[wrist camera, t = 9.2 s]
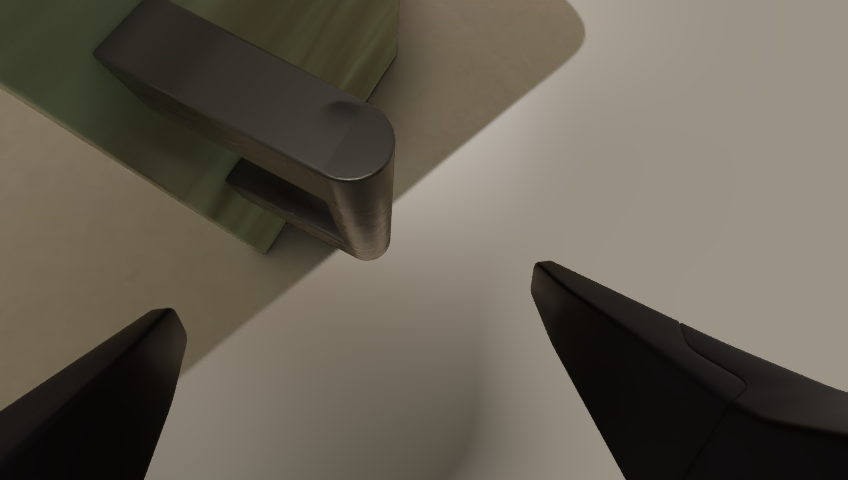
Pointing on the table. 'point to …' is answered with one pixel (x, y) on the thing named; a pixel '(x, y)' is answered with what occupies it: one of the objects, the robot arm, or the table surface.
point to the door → (224, 104)
